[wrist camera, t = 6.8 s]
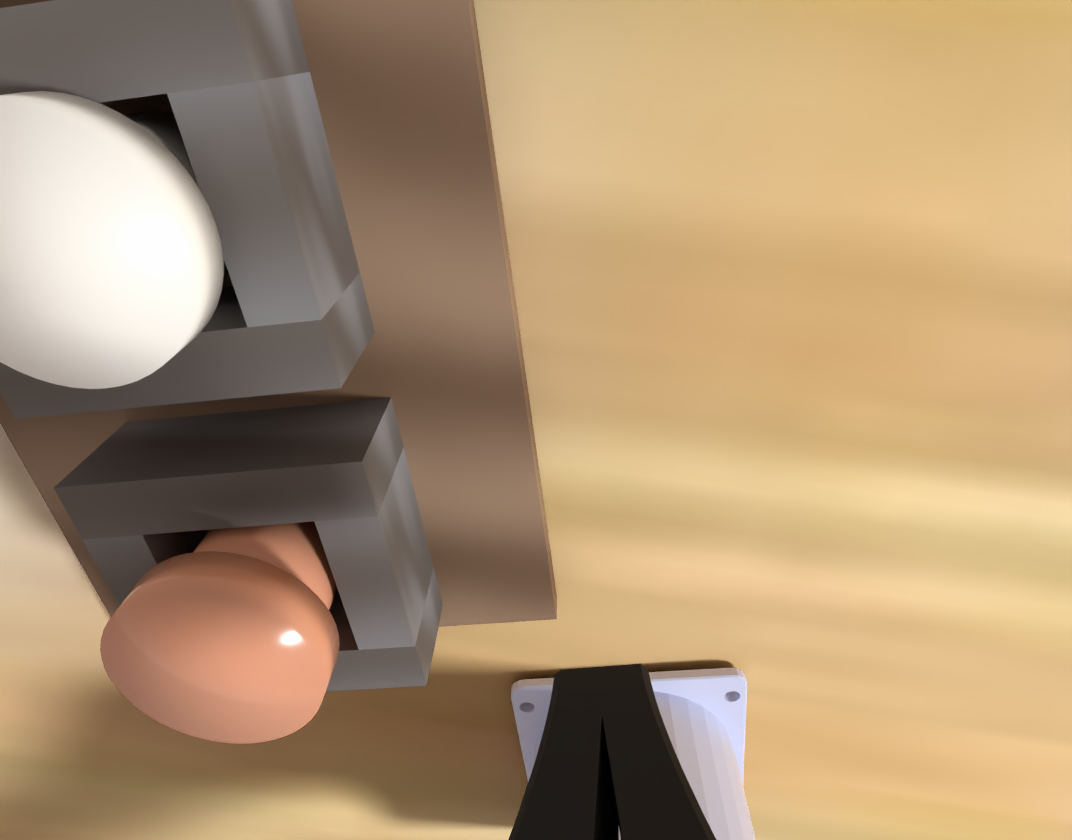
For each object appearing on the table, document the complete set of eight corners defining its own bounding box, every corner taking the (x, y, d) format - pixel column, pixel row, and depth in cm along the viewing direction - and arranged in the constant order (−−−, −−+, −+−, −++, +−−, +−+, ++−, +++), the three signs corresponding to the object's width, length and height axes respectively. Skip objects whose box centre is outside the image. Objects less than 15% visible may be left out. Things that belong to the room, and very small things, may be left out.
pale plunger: (310, 293, 16) (232, 376, 12) (116, 314, 17) (-17, 400, 13) (244, 63, 14) (123, 77, 10) (20, 94, 14) (-178, 118, 10)
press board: (556, 596, 22) (555, 701, 19) (144, 623, 23) (71, 727, 20) (460, -91, 13) (425, -133, 10) (-191, 8, 15) (-424, 3, 11)
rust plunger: (389, 601, 20) (348, 738, 16) (229, 612, 20) (152, 748, 16) (347, 461, 18) (287, 582, 14) (167, 477, 18) (61, 599, 14)
